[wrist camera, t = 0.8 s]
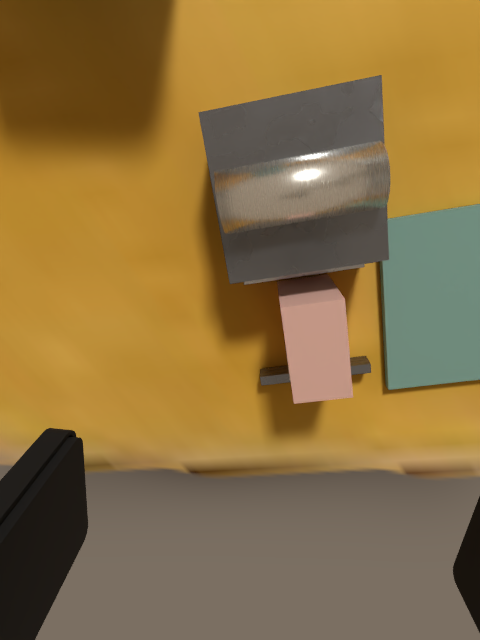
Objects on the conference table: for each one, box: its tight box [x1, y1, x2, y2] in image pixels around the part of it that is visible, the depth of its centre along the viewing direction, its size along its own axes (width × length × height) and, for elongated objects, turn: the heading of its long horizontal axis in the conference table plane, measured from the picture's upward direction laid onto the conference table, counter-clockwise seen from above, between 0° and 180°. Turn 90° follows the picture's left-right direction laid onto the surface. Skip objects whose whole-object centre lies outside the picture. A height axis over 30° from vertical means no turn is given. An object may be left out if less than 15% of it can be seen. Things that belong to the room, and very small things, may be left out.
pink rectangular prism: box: [277, 274, 353, 404], centre depth 28 cm, size 4×7×7 cm, turn 9°
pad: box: [380, 204, 480, 390], centre depth 30 cm, size 12×14×1 cm
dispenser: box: [199, 75, 390, 385], centre depth 26 cm, size 10×20×8 cm, turn 9°
